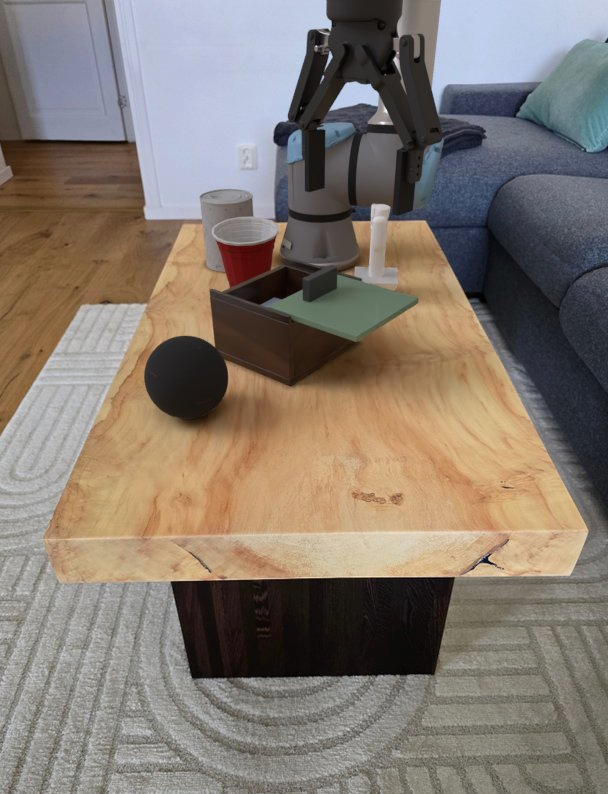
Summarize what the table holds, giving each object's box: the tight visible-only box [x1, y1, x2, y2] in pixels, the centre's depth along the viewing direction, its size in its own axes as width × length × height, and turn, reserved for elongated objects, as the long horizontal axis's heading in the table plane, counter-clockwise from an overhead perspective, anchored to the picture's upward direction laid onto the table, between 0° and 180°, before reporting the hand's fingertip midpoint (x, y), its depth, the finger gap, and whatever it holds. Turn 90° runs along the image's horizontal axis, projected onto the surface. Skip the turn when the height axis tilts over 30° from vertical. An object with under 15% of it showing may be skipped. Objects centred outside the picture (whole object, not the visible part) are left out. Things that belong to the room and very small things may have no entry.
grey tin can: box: [199, 188, 254, 273], centre depth 117 cm, size 10×10×12 cm
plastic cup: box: [212, 216, 280, 288], centre depth 104 cm, size 11×11×12 cm
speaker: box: [143, 335, 229, 420], centre depth 77 cm, size 10×10×10 cm
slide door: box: [269, 265, 420, 342], centre depth 81 cm, size 14×14×4 cm
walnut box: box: [209, 257, 362, 387], centre depth 90 cm, size 16×14×10 cm
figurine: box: [353, 204, 399, 291], centre depth 104 cm, size 7×9×15 cm
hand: (356, 200), depth 74 cm, fingers open, 13 cm apart
